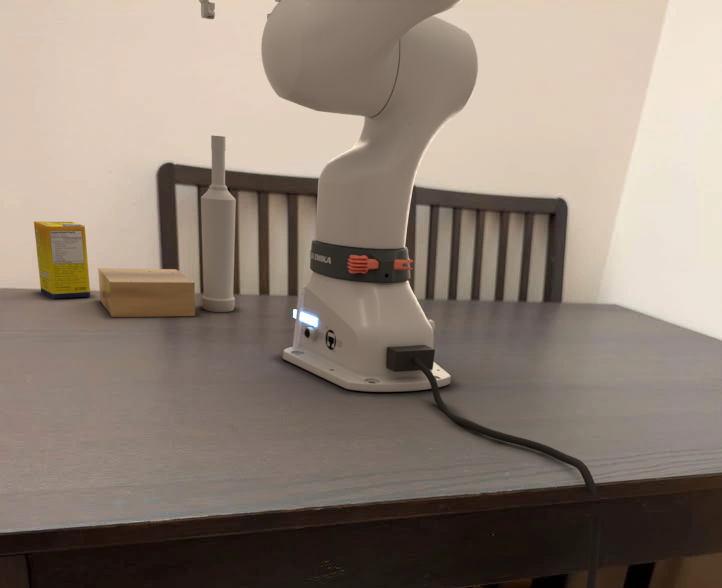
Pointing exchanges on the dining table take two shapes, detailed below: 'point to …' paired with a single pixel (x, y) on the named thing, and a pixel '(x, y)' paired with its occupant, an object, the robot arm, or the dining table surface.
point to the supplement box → (62, 259)
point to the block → (146, 292)
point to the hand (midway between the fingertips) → (241, 23)
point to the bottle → (218, 236)
